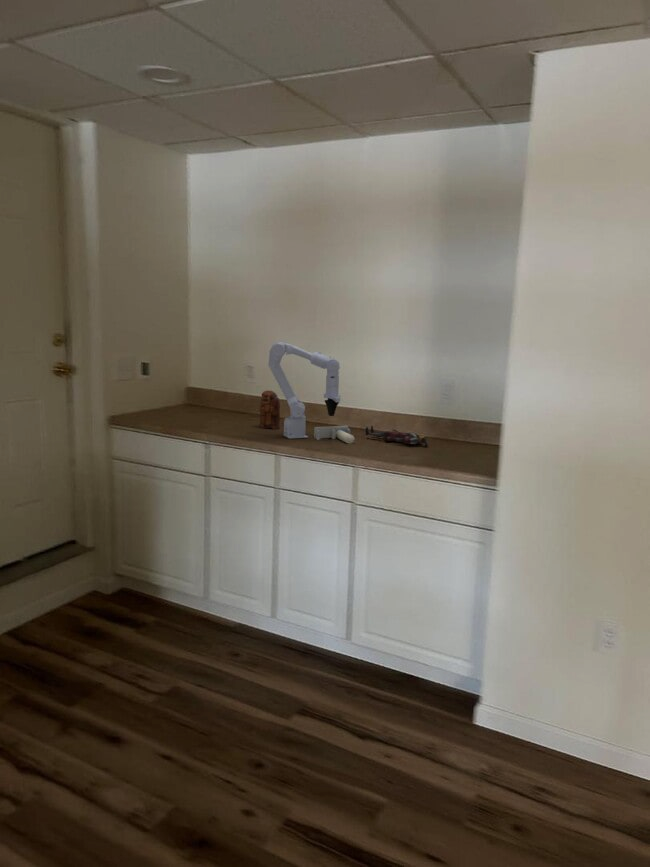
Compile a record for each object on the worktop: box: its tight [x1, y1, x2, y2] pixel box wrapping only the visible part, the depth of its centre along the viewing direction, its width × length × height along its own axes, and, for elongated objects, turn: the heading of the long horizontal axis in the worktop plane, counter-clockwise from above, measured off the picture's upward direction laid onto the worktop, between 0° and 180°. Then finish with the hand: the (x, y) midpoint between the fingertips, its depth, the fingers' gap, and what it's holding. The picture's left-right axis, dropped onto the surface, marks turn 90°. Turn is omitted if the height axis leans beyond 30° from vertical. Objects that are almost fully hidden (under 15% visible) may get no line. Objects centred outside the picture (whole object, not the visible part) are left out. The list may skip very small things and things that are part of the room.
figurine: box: [365, 425, 429, 448], centre depth 293 cm, size 13×6×30 cm
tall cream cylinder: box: [335, 430, 356, 445], centre depth 293 cm, size 12×4×4 cm, turn 22°
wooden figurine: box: [259, 389, 281, 430], centre depth 317 cm, size 12×6×18 cm, turn 59°
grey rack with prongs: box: [313, 425, 351, 441], centre depth 298 cm, size 16×4×5 cm, turn 112°
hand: (331, 415), depth 297 cm, fingers closed
